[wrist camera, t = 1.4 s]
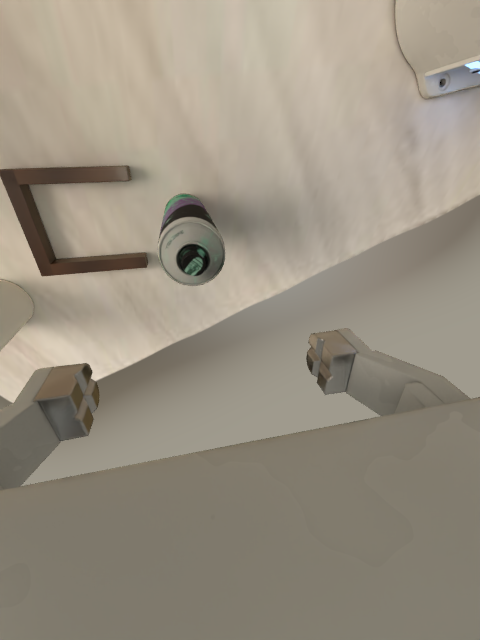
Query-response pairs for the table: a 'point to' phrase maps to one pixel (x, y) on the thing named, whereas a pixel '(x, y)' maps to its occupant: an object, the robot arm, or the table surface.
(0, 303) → the cylindrical container
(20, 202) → the frame
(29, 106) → the table surface
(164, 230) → the spray can
